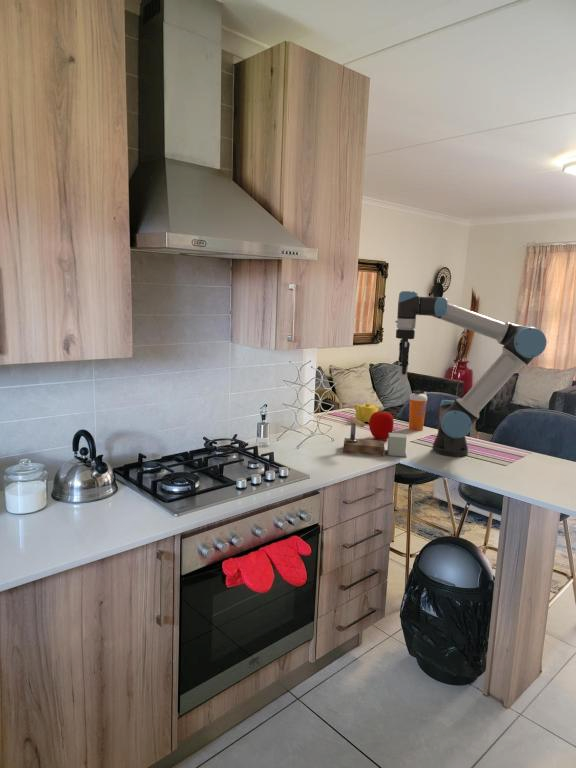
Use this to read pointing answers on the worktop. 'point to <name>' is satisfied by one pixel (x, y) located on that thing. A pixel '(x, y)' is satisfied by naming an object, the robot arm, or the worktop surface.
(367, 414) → the teapot
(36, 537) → the worktop surface
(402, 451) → the grey block
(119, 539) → the worktop surface
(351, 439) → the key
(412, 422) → the shaker bottle
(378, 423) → the tomato
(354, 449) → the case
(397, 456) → the mat
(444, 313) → the robot arm
